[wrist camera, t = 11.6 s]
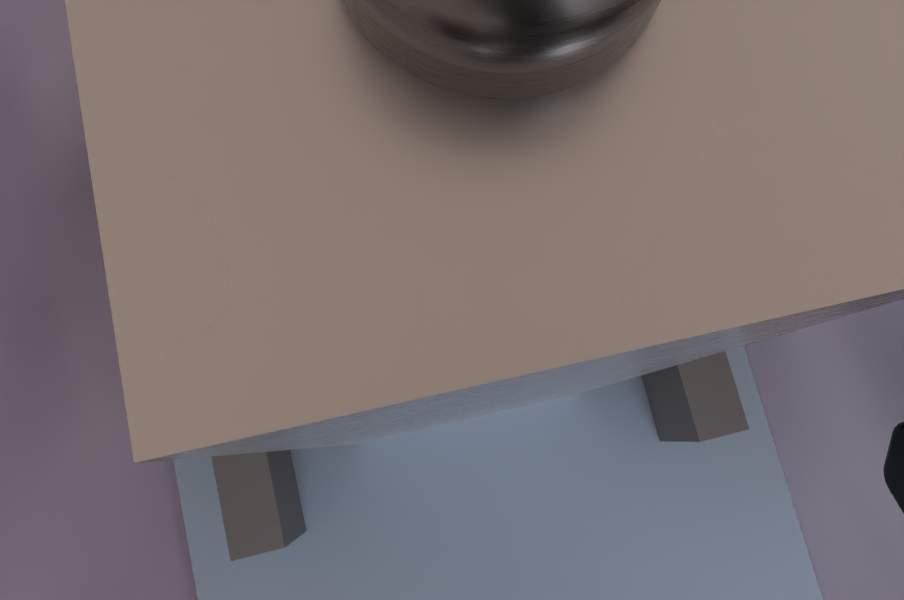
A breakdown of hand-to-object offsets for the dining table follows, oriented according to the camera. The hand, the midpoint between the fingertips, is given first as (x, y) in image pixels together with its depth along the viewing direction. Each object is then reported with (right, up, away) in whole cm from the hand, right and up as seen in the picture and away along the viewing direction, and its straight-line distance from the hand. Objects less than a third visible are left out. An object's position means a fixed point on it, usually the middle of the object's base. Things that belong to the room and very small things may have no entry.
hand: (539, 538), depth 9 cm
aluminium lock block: (-1, +3, +8) cm, 9 cm away
